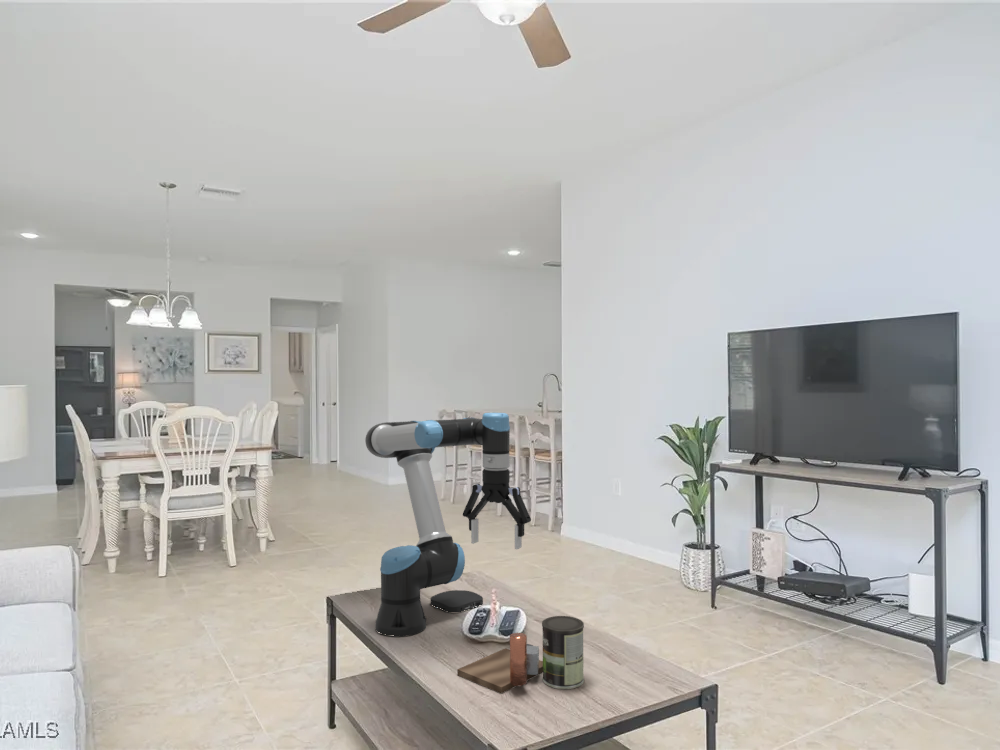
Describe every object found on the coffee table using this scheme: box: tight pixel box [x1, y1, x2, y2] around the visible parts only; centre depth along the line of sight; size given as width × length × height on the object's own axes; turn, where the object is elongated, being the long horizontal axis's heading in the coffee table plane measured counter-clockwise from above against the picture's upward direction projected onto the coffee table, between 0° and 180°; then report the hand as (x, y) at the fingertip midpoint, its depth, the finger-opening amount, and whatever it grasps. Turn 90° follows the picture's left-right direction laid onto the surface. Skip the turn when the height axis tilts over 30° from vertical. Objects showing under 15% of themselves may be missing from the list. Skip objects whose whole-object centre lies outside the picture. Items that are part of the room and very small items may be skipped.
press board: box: [456, 647, 543, 694], centre depth 171 cm, size 15×18×2 cm
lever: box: [509, 632, 540, 687], centre depth 167 cm, size 18×7×11 cm, turn 173°
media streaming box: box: [430, 589, 484, 613], centre depth 224 cm, size 15×15×3 cm
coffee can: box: [541, 615, 585, 690], centre depth 166 cm, size 10×10×14 cm
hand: (496, 545), depth 186 cm, fingers open, 13 cm apart
